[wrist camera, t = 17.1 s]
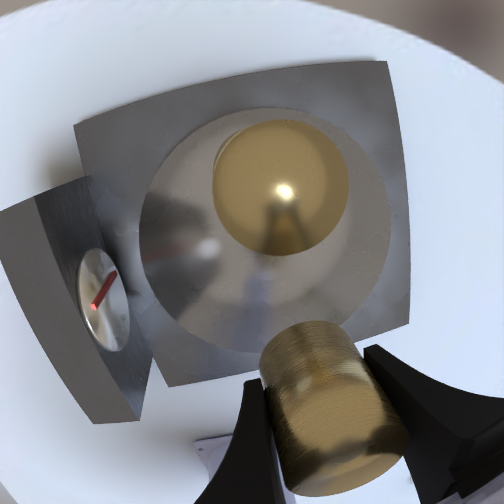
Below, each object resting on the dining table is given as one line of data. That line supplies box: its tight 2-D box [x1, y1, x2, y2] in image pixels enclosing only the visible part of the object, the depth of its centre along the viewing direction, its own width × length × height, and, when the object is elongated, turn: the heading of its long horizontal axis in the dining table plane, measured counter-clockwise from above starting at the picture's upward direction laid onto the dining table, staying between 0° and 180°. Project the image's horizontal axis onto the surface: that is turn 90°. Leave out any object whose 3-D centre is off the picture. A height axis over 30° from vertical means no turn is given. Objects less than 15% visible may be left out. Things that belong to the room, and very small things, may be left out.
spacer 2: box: [259, 320, 410, 497], centre depth 11 cm, size 4×4×6 cm
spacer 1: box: [212, 119, 349, 256], centre depth 13 cm, size 4×4×6 cm
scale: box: [0, 61, 411, 424], centre depth 16 cm, size 18×21×7 cm
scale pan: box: [139, 108, 391, 353], centre depth 17 cm, size 14×14×1 cm
